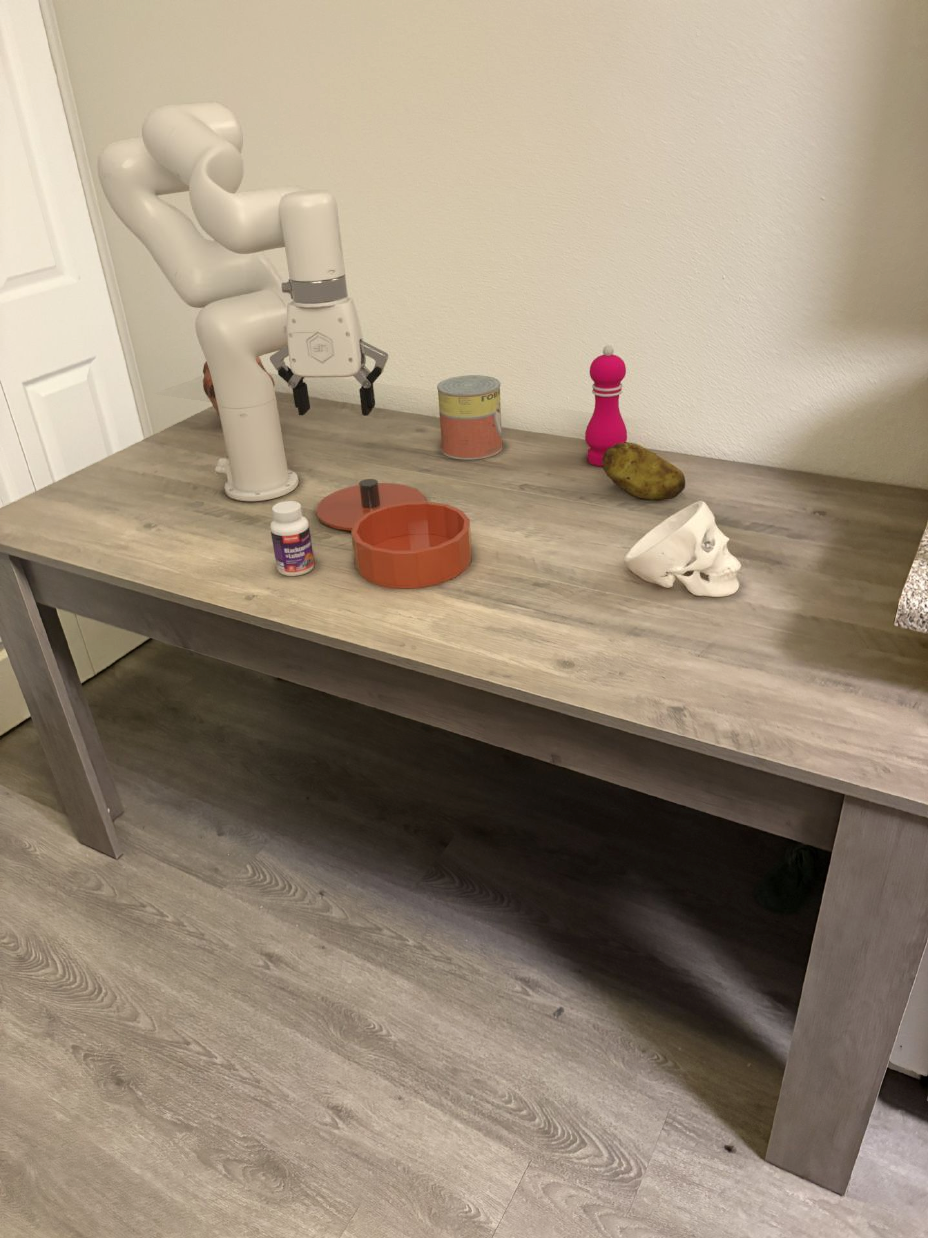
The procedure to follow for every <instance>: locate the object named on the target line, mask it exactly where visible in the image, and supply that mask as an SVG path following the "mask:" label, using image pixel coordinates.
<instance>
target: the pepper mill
mask: <svg viewBox="0 0 928 1238" xmlns="http://www.w3.org/2000/svg"><path fill="white" fill-rule="evenodd" d="M614 351H615V350H614V347H613V346H612V345H608V344H607V345H606V346H604V347H603V348H602V354H601V355H599V356H597V357H595V358H594V359H593V360H592V362H591V363H590V366H589V377H590V379H591V381H592V382H593V384H592V385H591V388H592V391H591V393H592V394H593V395H594V408H593V413H592V415H591V418H590V420H589V422H587V423H588V424H587V425H586V430H585V433H584V441H585V443H586V445H587V446H588V447H589V448H588V450H587V456H586V457H587V462H588V463H589V464H591V465H593V466H596V467H603V464H602V457H603V455H604V453H605V452H606V451H607V450H608V449H609V448H610V447H612V446H614V445H616V444H617V443H624V442H627V440H628V431H627V427H626V424H625V421H624V419H623V417H622V414H621V411H620V395H621V394H622V393H623V384H622V381H623V380H624V379H625V377H626V373H627V366H626V363H625V361H624V359H622V357H620V356H619V355H616V354H614V353H615V352H614Z"/></svg>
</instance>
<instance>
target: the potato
mask: <svg viewBox="0 0 928 1238" xmlns="http://www.w3.org/2000/svg"><path fill="white" fill-rule="evenodd" d="M602 464H603V471H604V473H605V474H606V476H607V477H608V478H609V479H610V480H611V481H612V482H613V484H615V485H616V486H617V487H619V488H621V489H623V490H625V491H626V492H627V493H629V494H630V495H632V496H634V497H636V498H638V499H644V500H666V499H669V498H674V497H676V496H678V495H679V494H681V493H682V492H683V491H684V490H685V488H686V478H685V474H684V473H683V471H682V470H681V469H679V468H678V467H677V466H675V465H674V464H673V463H671V462H669V461H668V460H666V459H664V458H662V457H660V456H659V455H657V454H656V453H655V452H652V451H650V450H649V449H647V448H645V447H644V446H642V445H640V444H638V443H636V442H635V443H634V442H627V441H626V442H624V443H617V444H616V445H614V446H612V447H610V448H609V449H608V450H607V451H606V452H605V453H604V455H603V457H602Z"/></svg>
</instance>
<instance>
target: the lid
mask: <svg viewBox="0 0 928 1238" xmlns="http://www.w3.org/2000/svg"><path fill="white" fill-rule="evenodd" d="M404 502H427V500H426V497H425V495H424V494H423V493H422V492H421V491H420V490H418V489H416V488H415V487H411V486H409V485H406V484H400V483H395V482H394V483H393V482H379V481H378V480H377V479H374V478H365V479H362V480H360V481H359V483H358V484H357V485H351V486H348V487H344V488H341V489H339V490H335V491H334V492H332V493H329V494H328V495H326V496H325V497H324V498H322V500H320V501H319V502H318V504H317V506H316V509H315V512H316V517H317V519H318V520H319V521H320V522H322V523H323V524H324V525H326V526H328V527H330V528H333V529H336V530H337V529H338V530H343V531H349V532H352V529H353V526H354V523H355V522H356V521H357V520H359V519H360V518H361V517H362V516H364V515H365V514H366V513H369V512H371V511H374V510H376V509H379V508H381V507H384V506H389V505H394V504H399V503H404Z"/></svg>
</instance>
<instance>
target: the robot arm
mask: <svg viewBox="0 0 928 1238" xmlns="http://www.w3.org/2000/svg"><path fill="white" fill-rule="evenodd" d="M243 146H244V137H243V130H242V127H241V124H240V122H239V120H238V117H236V114H234V112H233V111H232V110H231V109H230V108H228V106H225V105H224V104H222V103H220V102H218V101H217V102H216V101H199V102H190V103H189V102H187V103H173V104H166V105H161V106H159V107H157V108H155V109H153V110H151V112H149V113H148V115H147V116H145V118H144V121H143V123H142V126H141V136H133V137H127V138H123V139H119V140H116V141H113V142H111V143H109V144H108V145H106V146H105V147H104V148H103V149H102V150H101V152H100V153H99V155H98V157H97V166H96V167H97V168H96V169H97V175H98V179H99V184H100V186H101V188H102V191H103V195H104V196H105V198H106V200H107V202H108V204H109V206H110V208H111V210H112V211H113V212H114V213H115V215H116V217H117V218H118V219H119V220H120V222H122V224H123V225H124V226H125V227H126V228H127V229H128V230H129V231H130V232H131V233H132V234H133V235H134V236H135V237H136V238H137V239H138V240H139V241H140V242H141V244H142V245H143V246H144V247H145V248H146V249H147V251H148V253H149V254H150V255H151V257H152V259H153V260H154V262H155V263H156V265H157V266H158V267H159V269H160V271H161V272H162V274H163V275H164V276H165V278H166V280H167V281H168V282H169V284H170V285H171V287H172V288H173V290H174V292H176V294H177V296H178V297H179V298H180V299H181V300H182V301H183V302H184V303H185V304H186V305H187V306H189V307H192V308H195V309H200V310H199V312H198V313H197V316H196V318H195V323H194V325H195V326H194V327H195V333H196V337H197V340H198V342H199V345H200V348H201V351H202V353H203V355H204V359H205V362H206V361H207V364H208V367H209V371H210V374H211V378H212V382H213V386H214V391H215V396H216V401H217V405H218V410H219V415H220V417H219V419H220V425H221V431H222V434H223V435H222V436H223V440H224V446H225V451H226V455H227V457H220V458H218V461H217V465H216V466H215V468H214V469H215V470H214V471H215V473H216V474H221V475H226V479H227V481H226V482H225V484H224V492H225V495H226V496H227V497H228V498H230V499H232V500H235V501H241V502H263V501H269V500H273V499H277V498H281V497H283V496H285V495H288V494H290V493H291V492H293V491H294V490H295V489H297V487H298V485H299V476H298V474H297V473H296V472H295V471H293V470H291V469H288V464H287V457H286V452H285V451H286V450H285V446H284V441H283V439H284V438H283V433H282V432H283V431H282V427H281V421H280V414H279V409H278V403H277V395H276V391H275V385H274V386H273V383H272V380H271V378H270V377H269V376H268V374H267V373H266V372H265V371H264V370H263V369H262V368H261V367H260V366H259V365H258V364H257V362H256V358H257V357H259V358H260V357H262V356H264V355H267V354H271V353H273V354H271V355H270V356H269V361H270V363H271V364H272V366H273V367H274V369H275V371H277V375H278V376H279V377H280V378H281V379H282V380H284V381H285V382H286V383H287V385H288V387H289V388H290V389H291V390H292V396H293V402H294V407H295V408H296V409H297V412H298V415H299V416H304V415H305V414H307V412H308V411H309V410H310V409H311V404H310V403H311V402H310V396H309V390H308V385H307V383H306V381H304V380H305V378H351V377H354V379H355V380H356V381H357V382H358V383H359V384H360V385H361V387H360V388H359V400H360V409H361V415H363V416H365V417H368V416H369V415H370V413H371V412H372V411H373V409H374V408H375V407H376V399H375V389H374V383H375V382H376V381H377V380H378V378H379V377H380V376H381V375H382V373H383V372H384V369H385V367H386V365H387V362H388V360H389V358H390V357H389V353H387V352H386V351H384V350H382V349H380V348H377V347H376V346H374V345H372V344H369V343H367V342H366V341H364V336H363V331H362V330H363V329H362V326H361V323H360V319H359V315H358V311H357V307H356V305H355V302H354V299H353V297H349V294H348V293H349V292H348V286H347V277H346V269H345V259H344V252H343V244H342V243H343V242H342V235H341V228H340V219H339V212H338V203H337V199H336V198H335V196H334V194H333V193H332V192H330V191H328V190H323V189H306V188H304V187H301V186H298V185H297V186H296V185H283V186H276V187H266V188H265V187H264V188H260V189H259V188H258V189H253V190H252V189H251V190H246V191H242V192H241V191H240V192H238V190H239V188H240V186H241V184H242V181H243V178H244V172H245V165H244V160H243V157H242V155H241V153H242V150H243ZM185 192H188V193H189V202H190V207H191V209H192V212H193V214H194V217H195V219H196V221H197V223H198V224H199V226H200V228H201V229H202V231H204V232H205V233H206V234H207V235H208V236H209V237H210V238H211V239H213V240H210V239H208V238H206V237H204V235H202V233H201V232H200V231H199V229H198V228H197V226H196V224H195V223H194V222H193V220H191V218H189V216H188V215H187V214H186V213H185V212H183V211H181V209H178V207H176V206H175V205H172V204H171V203H169V202H167V201H165V200H163V199H162V198H160V197H159V196H164V195H170V194H178V193H185ZM283 248H284V250H285V257H286V263H287V270H288V277H289V279H288V281H285V280H284V278H283V277H282V275H281V274H280V273H279V271H278V269H277V268H276V266H275V265H274V264H273V262H272V261H271V259H270V258H269V256H268V255H267V254H266V253H265V252H266V251H268V250H274V249H283ZM288 357H289V358H288ZM367 357H369V358H371V359H373V360H374V362H375V364H374V367H373V369H372V370H370V369H369V368H368V367H367V366H366V363H367ZM286 358H288V360H289V365H290V366H288V365H287V364H286V362H285V359H286ZM219 415H218V416H219Z"/></svg>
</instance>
